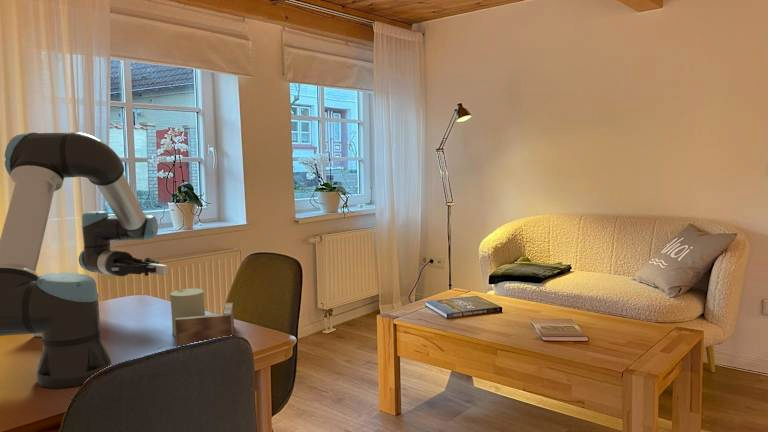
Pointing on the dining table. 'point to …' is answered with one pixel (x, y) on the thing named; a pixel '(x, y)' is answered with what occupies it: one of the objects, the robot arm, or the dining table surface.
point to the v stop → (204, 326)
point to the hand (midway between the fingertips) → (165, 270)
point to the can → (186, 304)
